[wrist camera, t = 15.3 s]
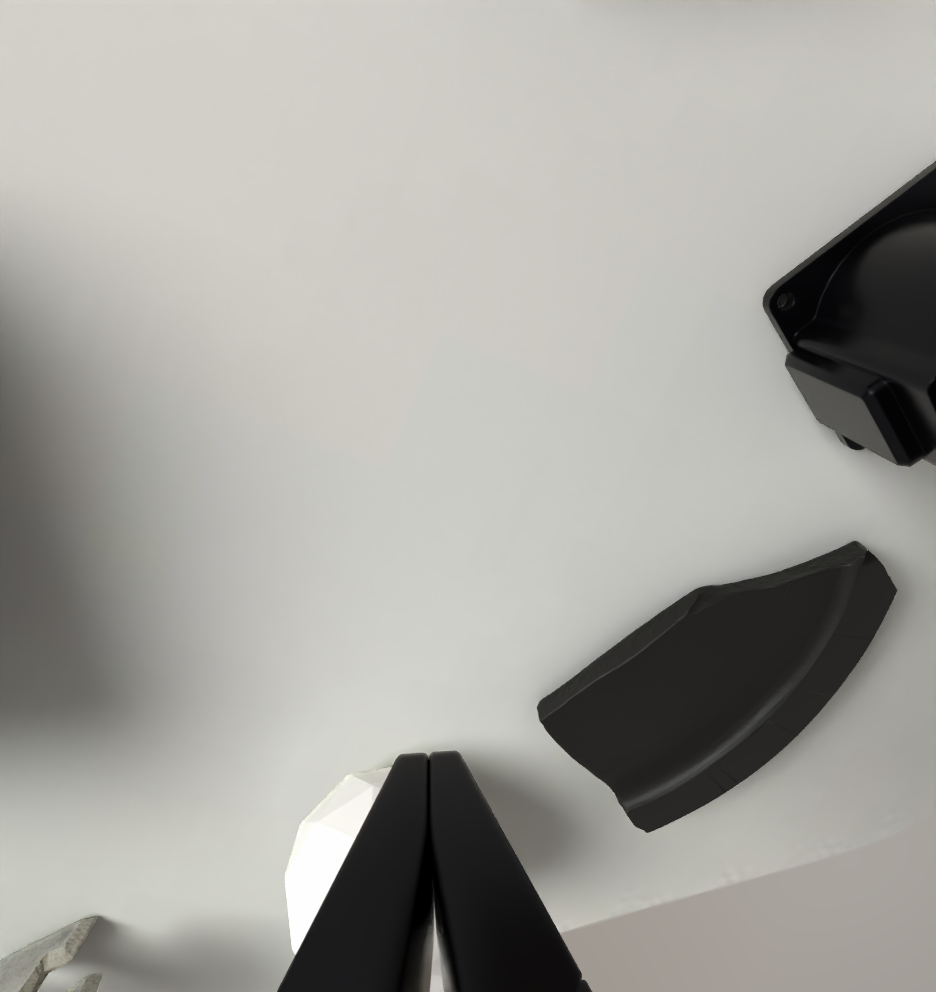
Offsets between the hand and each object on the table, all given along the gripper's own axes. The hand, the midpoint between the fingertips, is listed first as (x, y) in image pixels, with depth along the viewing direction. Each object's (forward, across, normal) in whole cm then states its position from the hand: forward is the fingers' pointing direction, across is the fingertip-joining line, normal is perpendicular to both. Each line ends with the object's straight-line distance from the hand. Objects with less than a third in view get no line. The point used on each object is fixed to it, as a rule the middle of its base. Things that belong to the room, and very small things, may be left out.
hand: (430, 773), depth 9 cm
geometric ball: (+13, +2, +16) cm, 20 cm away
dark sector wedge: (+13, -11, +11) cm, 20 cm away
